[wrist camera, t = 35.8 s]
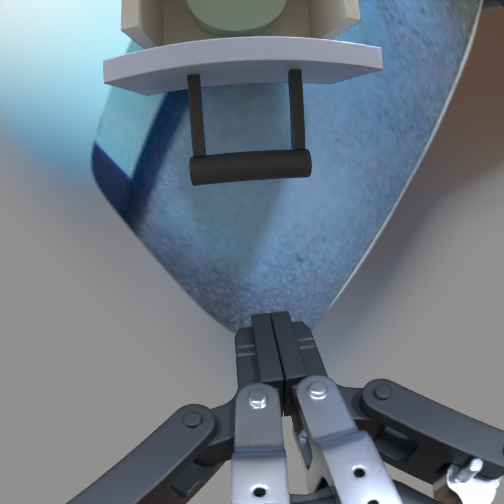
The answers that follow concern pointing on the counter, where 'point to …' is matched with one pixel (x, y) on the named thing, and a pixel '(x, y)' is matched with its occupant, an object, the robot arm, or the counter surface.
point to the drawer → (240, 71)
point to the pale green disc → (235, 16)
